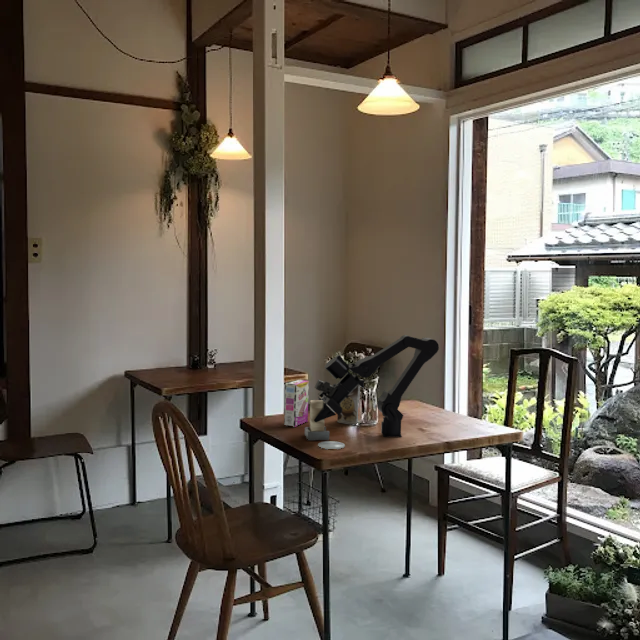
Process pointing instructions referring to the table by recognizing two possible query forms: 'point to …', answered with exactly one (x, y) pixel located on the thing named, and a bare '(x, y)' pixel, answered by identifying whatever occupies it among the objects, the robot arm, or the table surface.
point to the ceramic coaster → (331, 445)
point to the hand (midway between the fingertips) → (313, 419)
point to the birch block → (314, 410)
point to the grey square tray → (316, 434)
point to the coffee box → (350, 408)
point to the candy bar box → (296, 403)
